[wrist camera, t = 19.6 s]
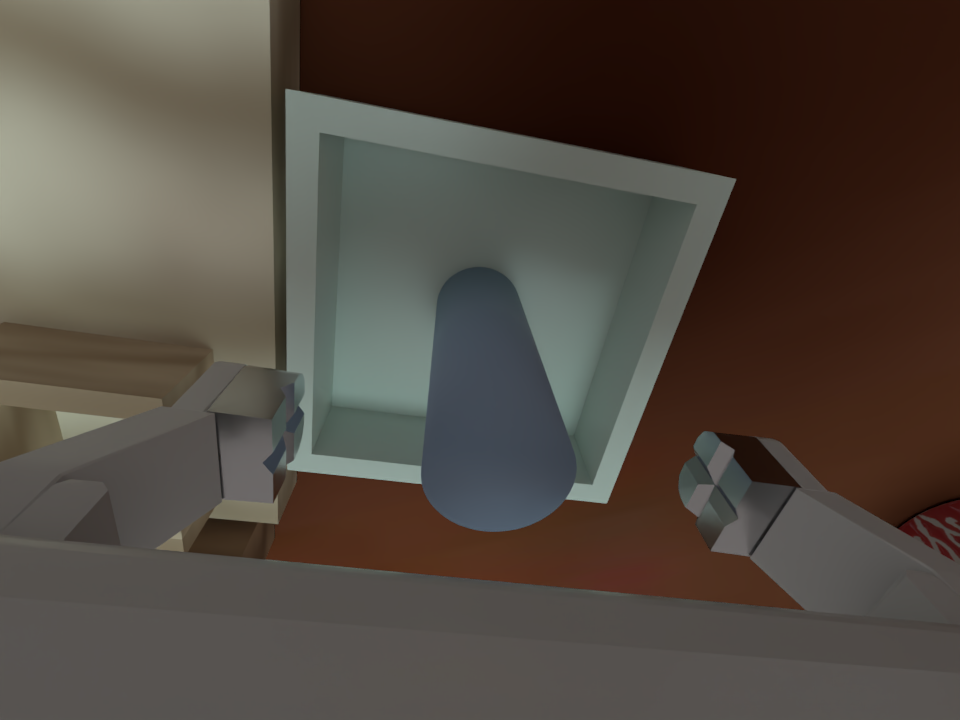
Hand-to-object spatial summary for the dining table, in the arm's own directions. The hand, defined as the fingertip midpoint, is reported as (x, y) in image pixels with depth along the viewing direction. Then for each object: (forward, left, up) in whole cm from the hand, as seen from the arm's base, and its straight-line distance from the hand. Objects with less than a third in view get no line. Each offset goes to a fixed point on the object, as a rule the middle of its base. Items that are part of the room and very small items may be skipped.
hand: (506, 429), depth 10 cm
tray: (+1, 0, -9) cm, 9 cm away
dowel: (+1, 0, -8) cm, 8 cm away
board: (+1, -12, -9) cm, 15 cm away
